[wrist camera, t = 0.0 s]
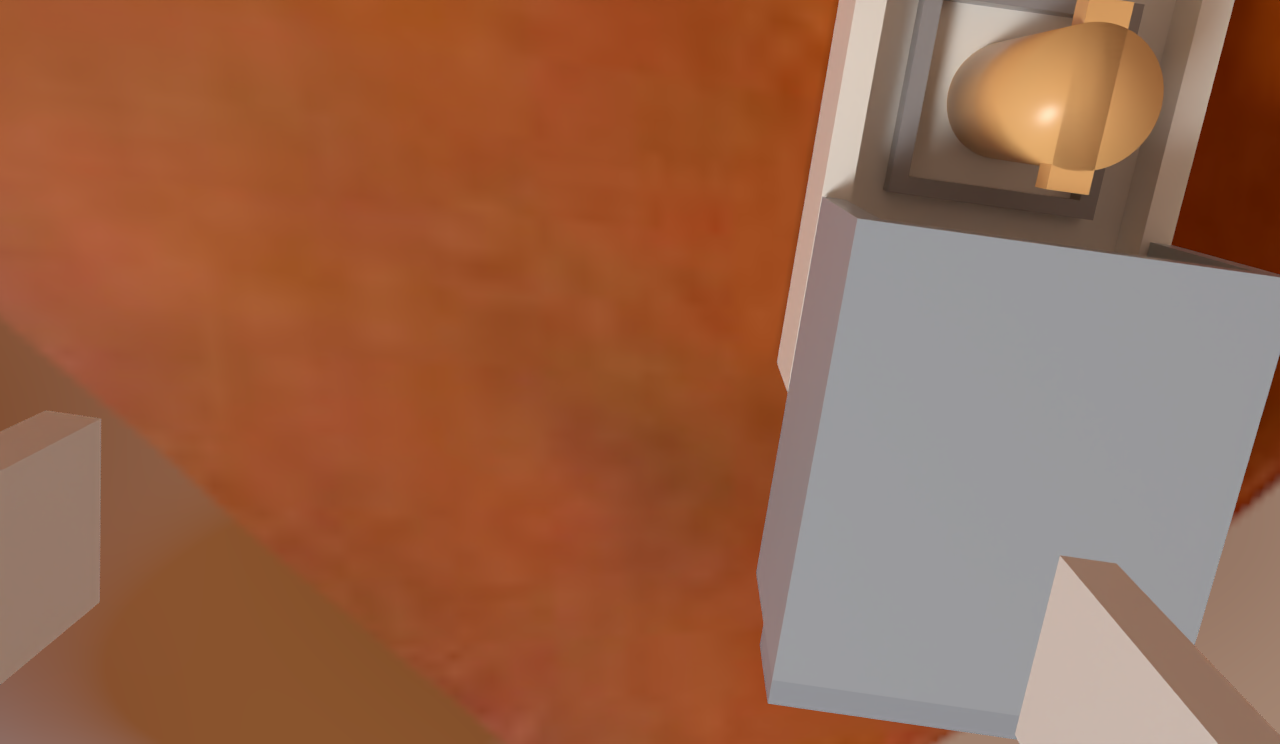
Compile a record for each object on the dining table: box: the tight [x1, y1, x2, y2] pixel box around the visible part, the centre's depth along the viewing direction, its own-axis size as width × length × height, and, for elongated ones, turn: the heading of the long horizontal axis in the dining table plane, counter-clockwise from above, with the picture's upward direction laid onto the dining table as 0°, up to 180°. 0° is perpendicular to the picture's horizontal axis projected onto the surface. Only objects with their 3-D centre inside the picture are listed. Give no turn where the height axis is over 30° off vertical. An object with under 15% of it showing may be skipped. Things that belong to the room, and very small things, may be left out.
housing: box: [777, 0, 1235, 392], centre depth 37 cm, size 25×12×4 cm, turn 172°
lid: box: [756, 196, 1280, 739], centre depth 34 cm, size 15×12×8 cm
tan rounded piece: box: [947, 0, 1164, 195], centre depth 33 cm, size 5×4×8 cm
